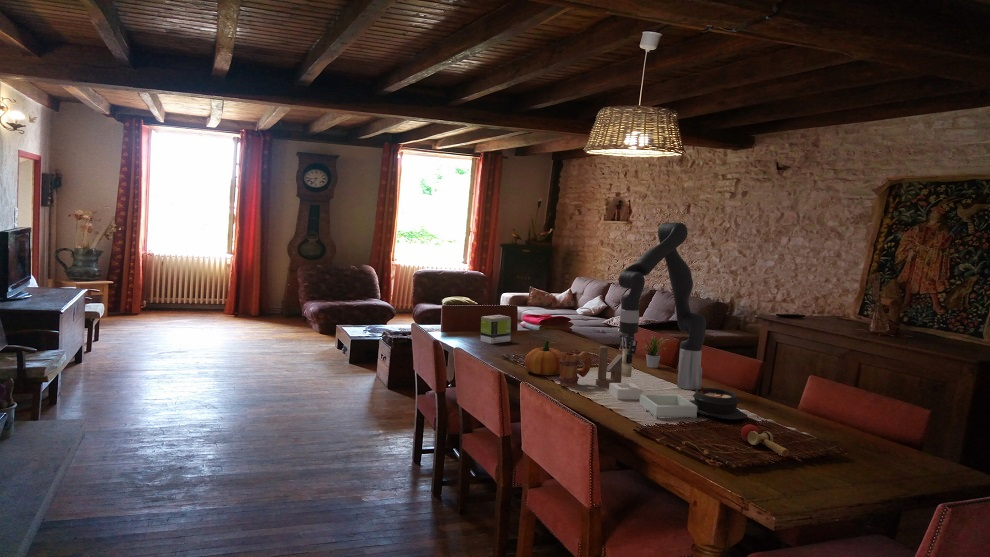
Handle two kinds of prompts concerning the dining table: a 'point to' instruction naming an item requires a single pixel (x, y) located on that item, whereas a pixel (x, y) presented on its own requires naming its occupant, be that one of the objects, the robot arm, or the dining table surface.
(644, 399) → the tray
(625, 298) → the robot arm
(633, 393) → the holder
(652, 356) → the house plant
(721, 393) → the casserole
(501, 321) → the tea box
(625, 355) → the dowel
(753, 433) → the kendama
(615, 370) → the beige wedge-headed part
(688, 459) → the dining table surface
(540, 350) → the pumpkin
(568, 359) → the mug
